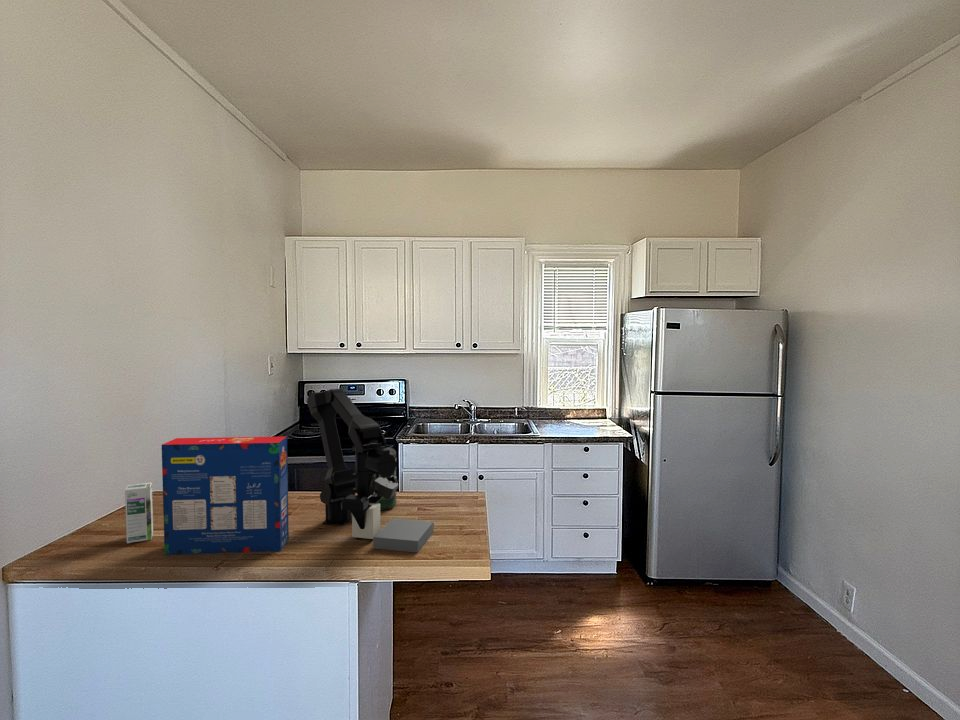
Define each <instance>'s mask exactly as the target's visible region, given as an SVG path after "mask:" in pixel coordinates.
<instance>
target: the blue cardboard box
mask: <svg viewBox="0 0 960 720" xmlns="http://www.w3.org/2000/svg"><path fill="white" fill-rule="evenodd" d="M288 461H289V460H288V436H287V435H285V436H237V437H236V436H230V437H229V436H228V437H227V436H223V437H221V436H220V437H176V438H173V439H172V440H169V441H166V442H165V443H162V444H161V469H162V470H161V473H162V475H161V477H162V511H163V539H164V540H163V545H164V556H181V555H182V556H183V555H184V556H185V555H186V556H187V555H209V554H211V555H213V554H235V553H262V552H266V553H267V552H281V551H282V550H283V548H284V547H285V545H286V544H287V542H288V540H289V539H290V537H289V536H290V535H289V534H290V533H289V532H290V531H289V530H290V529H289V527H290V526H289V477H288V476H289V472H288V467H289V466H288Z"/></svg>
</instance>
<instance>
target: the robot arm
mask: <svg viewBox="0 0 960 720" xmlns="http://www.w3.org/2000/svg"><path fill="white" fill-rule="evenodd" d="M306 405H307V407H308V409H309V412H310V415H311V416H312V417H313V418H314V420H315V421H316V422H317V423H318V428H319V431H320V435H321V436H320V437H321V441H322V446H323V450H324V451H323V452H324V456H325V461H326V466H327V471H326V475H325V477H324V486H323V489H322V490H321V491H320V494H319V499H320V502H321V503H323V504H325V510H324V511H325V520H324V521H322V525H335V526H344V525H345V524H347V522H349V521H351V520H352V514H353V516H354V518H355V520H356V522H357V524H358V525H359V527H360V529H364V528H365V523H366V514H367V510H368V509H369V508H370V507H371V506H372V505H368V504H369V503H378V501H379V500H380V499H381V498H382V497H384V498H385V499H391V498H392V497H393V496H394V495H395V492H396V493H397V489H398V488H399V483H398V477H397V475H396V476H393V475H392V476H391V477H390V478H388V479H387V478H382V477H381V476H384V477H387V476H390V475H391V474H392V473H393V472H394V471H395V469H396V470H397V459H396V460H395V458H394V457H393V456H392V455H390V450H388V449H385V448H387V447H388V444H387V439H386V438H385V437H384V434H383V432H382V429H381V426H380V425H379V423H377V422H376V421H375V420H374V419H373V418H371V417H368V416H366V415H364V414H362V412H361V411H360V410H359V409H358V407H357V406H356V405H355V404H354V402H352V400H351V399H350V398H349V396H348V395H347V392H346V390H345V389H344V388H331V389H330V388H329V389H328V390H325V391H318V392H317V391H316V392H311V393H310V395H309V396H308V397H307V399H306ZM337 414H338V416H340V418H341V419H342V420H343V422H344V423H345V424H346V426H347V427H348V432H347V433H348V436H349V438H350V440H351V443H353V445H354V446H352V448H351V450H352V451H353V452H355V453H354V454H355V455H354V456H355V457H354V459H355V460H354V461H355V464H354V466H355V467H354V468H355V470H353V469H352V468H348V466H347V465H346V464H345V459H344V455H343V450H342V445H341V441H340V435H339V432H338V428H337V422H336V416H337ZM354 471H355V472H354ZM380 475H381V476H380Z"/></svg>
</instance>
